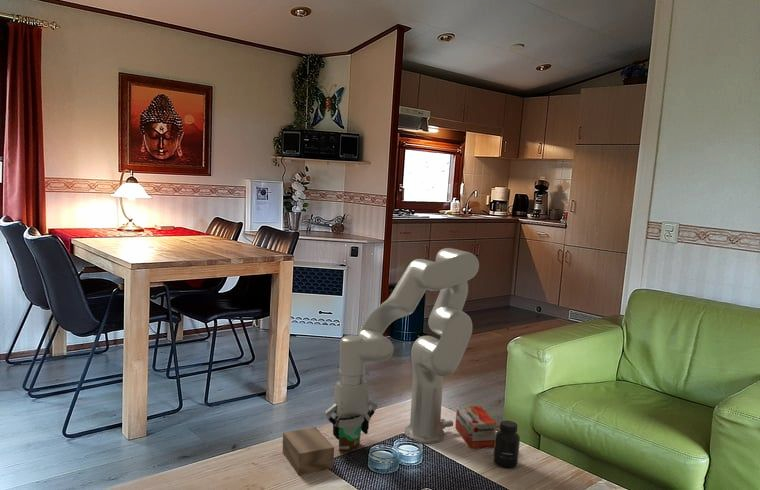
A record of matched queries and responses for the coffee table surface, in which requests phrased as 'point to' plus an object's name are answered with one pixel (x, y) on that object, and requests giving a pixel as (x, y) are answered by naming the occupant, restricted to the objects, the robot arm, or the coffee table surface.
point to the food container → (350, 433)
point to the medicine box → (475, 427)
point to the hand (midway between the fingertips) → (350, 434)
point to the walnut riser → (308, 450)
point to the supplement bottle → (507, 445)
